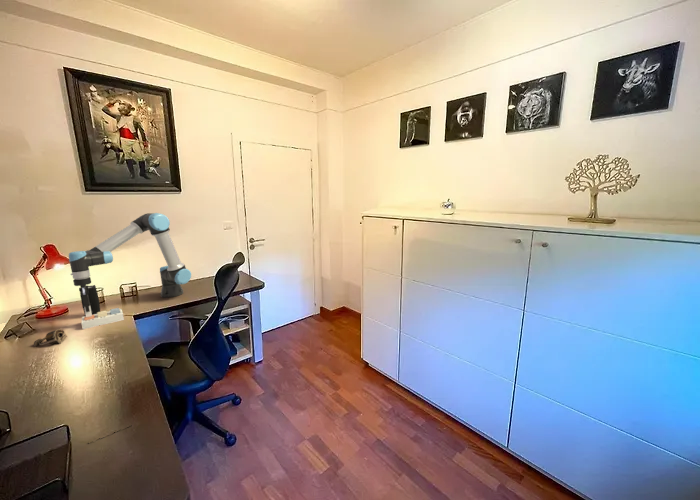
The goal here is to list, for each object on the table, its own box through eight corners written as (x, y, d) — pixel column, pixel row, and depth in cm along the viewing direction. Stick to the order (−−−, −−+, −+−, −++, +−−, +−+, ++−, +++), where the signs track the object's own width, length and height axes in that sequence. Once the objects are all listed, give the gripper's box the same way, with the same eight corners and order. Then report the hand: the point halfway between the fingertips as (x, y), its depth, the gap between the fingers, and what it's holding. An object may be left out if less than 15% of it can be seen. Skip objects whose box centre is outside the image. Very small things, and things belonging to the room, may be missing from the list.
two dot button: (107, 314, 183) (106, 310, 182) (107, 316, 179) (106, 312, 179) (98, 316, 180) (97, 312, 179) (98, 318, 177) (97, 314, 176)
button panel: (122, 314, 191) (121, 308, 190) (123, 319, 182) (122, 313, 181) (83, 323, 179) (81, 316, 178) (82, 329, 170) (81, 322, 169)
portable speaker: (89, 318, 187) (84, 289, 183) (81, 316, 190) (75, 287, 187) (104, 313, 194) (99, 285, 191) (96, 311, 198) (90, 284, 194)
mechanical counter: (47, 339, 146) (68, 326, 156) (25, 336, 148) (47, 323, 157) (53, 350, 149) (72, 337, 158) (31, 347, 151) (52, 334, 160)
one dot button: (119, 312, 187) (118, 307, 186) (120, 314, 183) (119, 309, 183) (110, 314, 184) (109, 309, 183) (111, 316, 180) (110, 311, 180)
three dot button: (95, 319, 179) (94, 314, 179) (95, 321, 176) (94, 316, 175) (85, 321, 176) (84, 316, 176) (85, 323, 173) (84, 318, 172)
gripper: (73, 277, 174) (80, 315, 178) (72, 281, 164) (80, 321, 168) (90, 274, 179) (97, 311, 183) (90, 278, 169) (97, 317, 173)
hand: (89, 316), depth 175 cm, fingers closed
